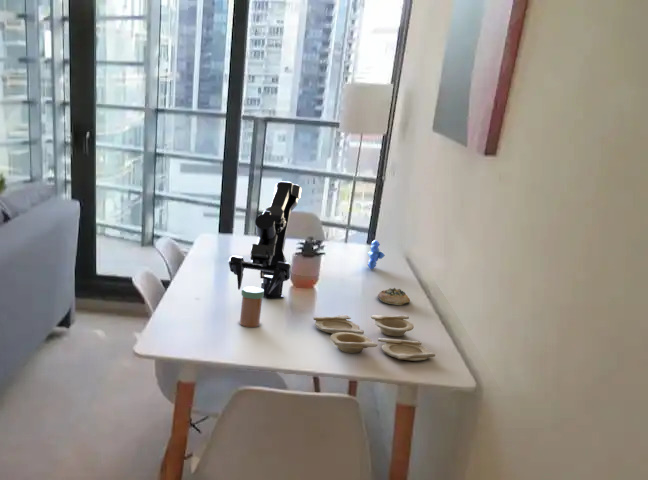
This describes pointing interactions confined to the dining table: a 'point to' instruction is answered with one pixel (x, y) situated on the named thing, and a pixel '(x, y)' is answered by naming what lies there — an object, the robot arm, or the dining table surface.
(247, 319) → the jar
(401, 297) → the bread roll
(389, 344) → the tableware set
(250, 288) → the lid
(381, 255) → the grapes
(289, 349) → the dining table surface
